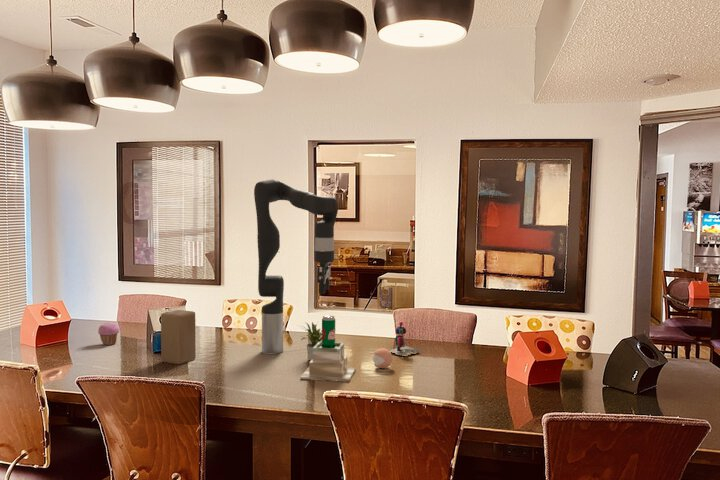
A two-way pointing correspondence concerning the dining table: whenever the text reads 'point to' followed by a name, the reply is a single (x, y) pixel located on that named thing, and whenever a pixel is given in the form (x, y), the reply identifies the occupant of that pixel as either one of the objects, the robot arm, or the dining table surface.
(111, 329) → the cupcake
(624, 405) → the dining table surface
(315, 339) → the house plant
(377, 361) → the toy ball
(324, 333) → the soda can
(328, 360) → the tower base
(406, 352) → the statue
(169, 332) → the block
